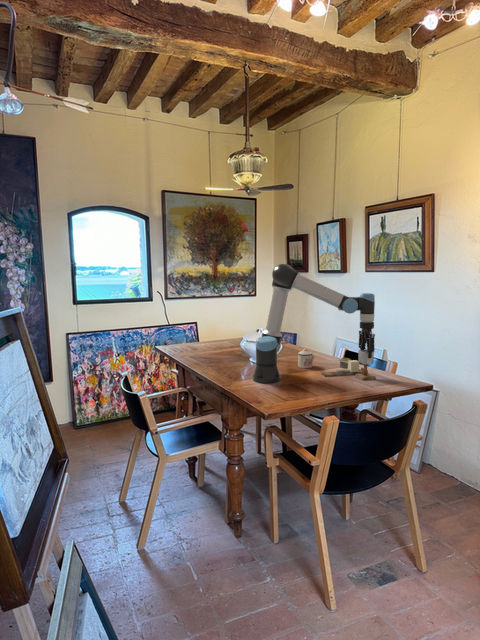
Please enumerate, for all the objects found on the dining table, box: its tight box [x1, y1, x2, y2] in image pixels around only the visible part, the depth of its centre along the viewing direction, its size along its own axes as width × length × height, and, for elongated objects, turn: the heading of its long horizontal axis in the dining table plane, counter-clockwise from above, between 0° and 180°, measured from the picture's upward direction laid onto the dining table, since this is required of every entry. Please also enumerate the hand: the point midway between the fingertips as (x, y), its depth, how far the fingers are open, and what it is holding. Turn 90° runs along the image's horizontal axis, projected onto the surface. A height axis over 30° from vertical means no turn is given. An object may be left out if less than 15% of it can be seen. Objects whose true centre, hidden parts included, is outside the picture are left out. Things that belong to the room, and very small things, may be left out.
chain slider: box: [335, 359, 360, 372], centre depth 226 cm, size 13×4×6 cm, turn 100°
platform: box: [337, 357, 352, 370], centre depth 240 cm, size 12×18×7 cm, turn 44°
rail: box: [320, 367, 369, 378], centre depth 226 cm, size 26×6×2 cm, turn 100°
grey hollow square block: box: [357, 348, 375, 365], centre depth 216 cm, size 6×6×7 cm
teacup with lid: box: [297, 348, 315, 369], centre depth 244 cm, size 12×9×12 cm
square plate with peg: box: [354, 364, 377, 381], centre depth 217 cm, size 8×8×8 cm
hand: (365, 362), depth 216 cm, fingers closed on grey hollow square block, 6 cm apart
